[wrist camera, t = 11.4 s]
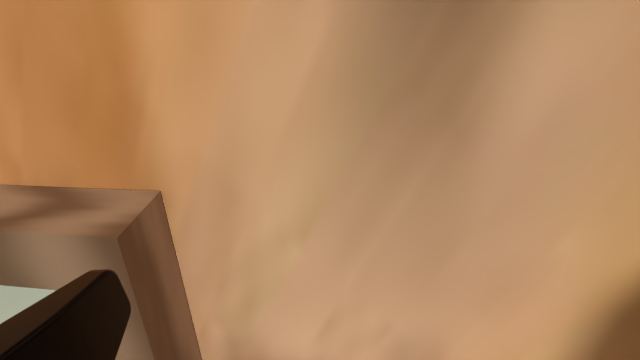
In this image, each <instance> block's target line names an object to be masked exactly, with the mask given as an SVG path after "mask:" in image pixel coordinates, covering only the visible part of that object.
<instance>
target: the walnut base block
mask: <svg viewBox="0 0 640 360" xmlns="http://www.w3.org/2000/svg"><path fill="white" fill-rule="evenodd" d="M99 269H110V270H113V271H114V272H116V273H117V275H118V277H119V279H120V281H121V283H122V285H123V288H124V290H125V292H126V294H127V296H128V298H129V301H130V304H131V315H130V318H129V321H128V324H127V327H126V330H125V333H124V336H123V339H122V342H121V345H120V347H119V350H118V353H117V356H116V359H115V360H202V358H201V354H200V350H199V346H198V342H197V338H196V334H195V330H194V326H193V322H192V318H191V314H190V310H189V306H188V302H187V298H186V294H185V289H184V285H183V281H182V277H181V273H180V269H179V265H178V261H177V257H176V253H175V249H174V245H173V241H172V237H171V233H170V229H169V225H168V221H167V217H166V212H165V208H164V204H163V200H162V196H161V192H160V191H143V190H118V189H93V188H67V187H42V186H17V185H0V285H3V286H14V287H25V288H37V289H48V290H58V289H59V288H61V287H63V286H64V285H66V284H68V283H69V282H71V281H73V280H74V279H76V278H78V277H79V276H81V275H83V274H84V273H86V272H88V271H91V270H99Z"/></svg>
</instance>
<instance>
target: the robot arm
mask: <svg viewBox="0 0 640 360" xmlns="http://www.w3.org/2000/svg"><path fill="white" fill-rule="evenodd" d="M130 315H131V304H130V301H129V298H128V296H127V294H126V292H125V290H124V288H123V285H122V283H121V281H120V279H119V277H118V275H117V273H116V272H114V271H113V270H110V269H99V270H91V271H88V272H86V273H84V274H83V275H81V276H79V277H78V278H76V279H74V280H73V281H71V282H69V283H68V284H66V285H64V286H63V287H61V288H59V289H58V290H56V291H54V292H53V293H51V294H49V295H48V296H46V297H44V298H43V299H41V300H39V301H38V302H36V303H34V304H33V305H31V306H29V307H28V308H26V309H24V310H23V311H21V312H19V313H18V314H16V315H14V316H13V317H11V318H9V319H8V320H6V321H4V322H2V323H1V324H0V360H115V359H116V356H117V353H118V350H119V347H120V345H121V342H122V339H123V336H124V333H125V330H126V327H127V324H128V321H129V318H130Z"/></svg>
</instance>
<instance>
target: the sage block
mask: <svg viewBox="0 0 640 360" xmlns="http://www.w3.org/2000/svg"><path fill="white" fill-rule="evenodd" d="M54 291H56V290H48V289H37V288H25V287H14V286H3V285H0V324H1V323H2V322H4V321H6V320H8V319H9V318H11V317H13V316H14V315H16V314H18V313H19V312H21V311H23V310H24V309H26V308H28V307H29V306H31V305H33V304H34V303H36V302H38V301H39V300H41V299H43V298H44V297H46V296H48V295H49V294H51V293H53V292H54Z"/></svg>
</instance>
